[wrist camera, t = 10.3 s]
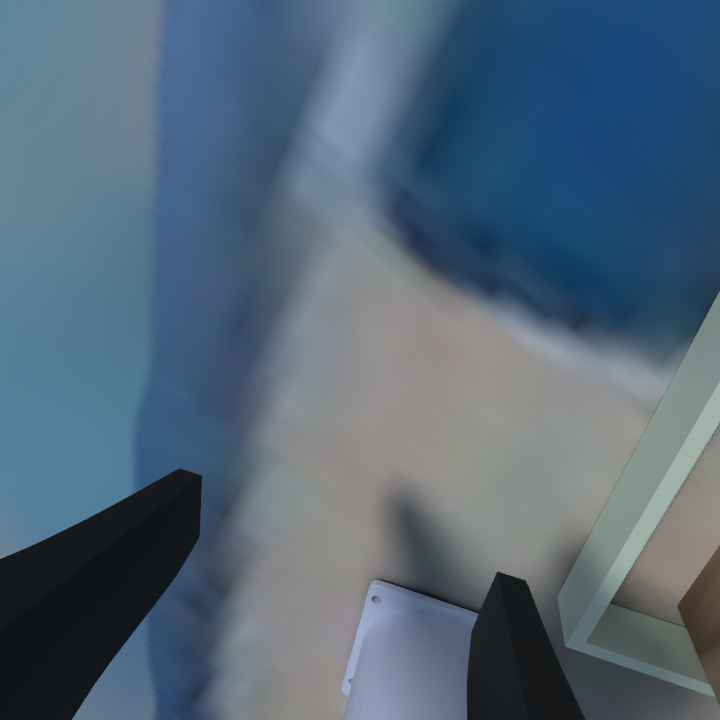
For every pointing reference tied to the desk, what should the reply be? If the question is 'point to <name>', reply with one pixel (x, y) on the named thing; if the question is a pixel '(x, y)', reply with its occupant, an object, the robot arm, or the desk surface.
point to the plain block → (705, 619)
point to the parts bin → (646, 528)
